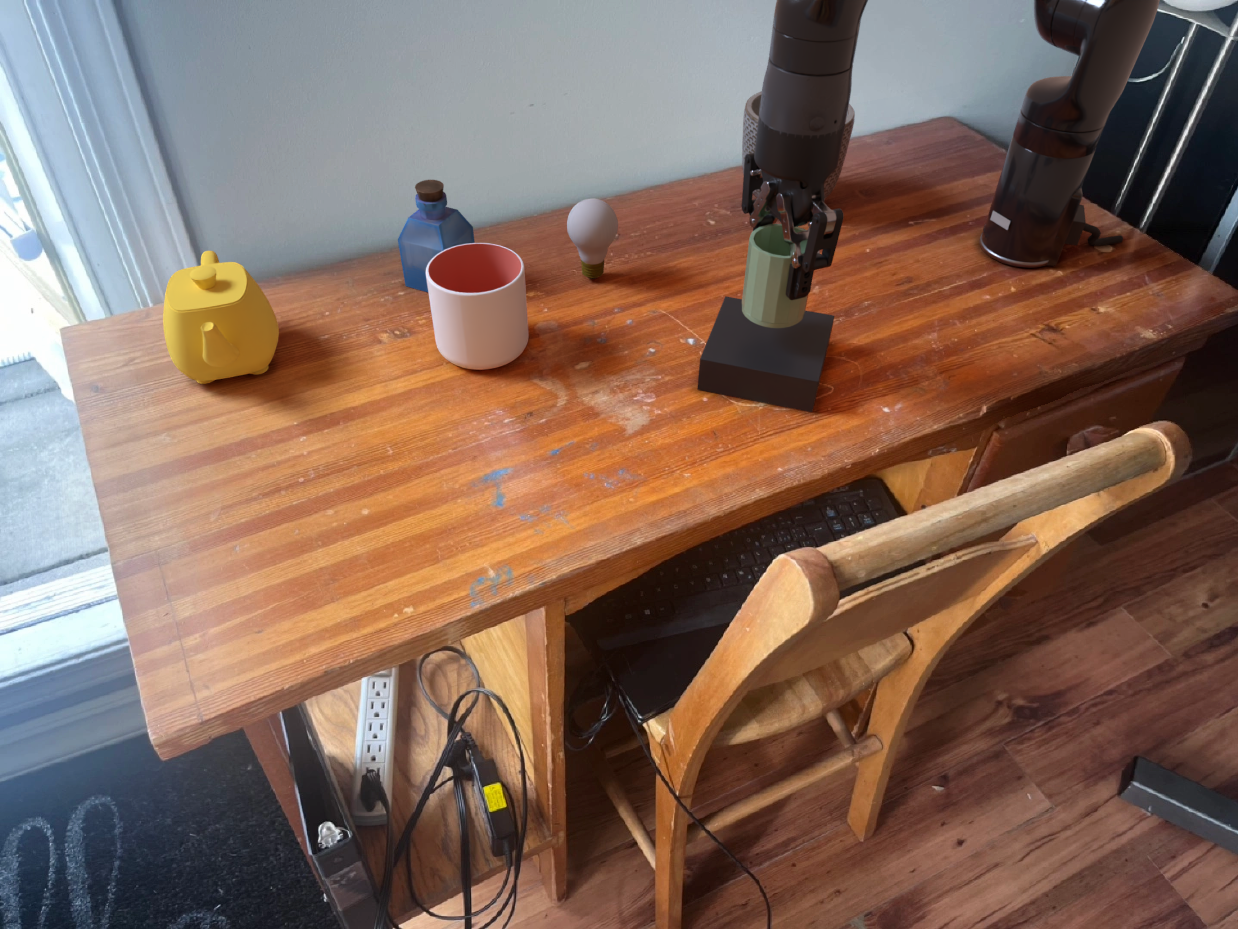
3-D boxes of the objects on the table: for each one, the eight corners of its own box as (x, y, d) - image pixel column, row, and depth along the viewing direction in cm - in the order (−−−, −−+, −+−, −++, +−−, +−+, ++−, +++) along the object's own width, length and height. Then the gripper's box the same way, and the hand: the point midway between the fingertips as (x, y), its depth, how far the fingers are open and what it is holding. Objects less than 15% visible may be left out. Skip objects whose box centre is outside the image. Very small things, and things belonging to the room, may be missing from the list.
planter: (728, 220, 124) (738, 124, 115) (741, 173, 134) (751, 81, 125) (834, 234, 122) (853, 137, 113) (840, 184, 131) (857, 91, 123)
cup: (514, 381, 99) (508, 300, 92) (423, 368, 100) (410, 287, 93) (539, 327, 106) (535, 248, 99) (454, 315, 107) (444, 237, 100)
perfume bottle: (477, 273, 114) (468, 180, 105) (450, 298, 110) (437, 204, 101) (434, 261, 116) (421, 168, 107) (405, 286, 111) (389, 192, 103)
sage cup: (809, 298, 98) (821, 229, 92) (799, 333, 93) (811, 262, 88) (748, 288, 99) (756, 219, 93) (735, 321, 94) (743, 251, 89)
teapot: (291, 403, 95) (265, 315, 88) (176, 425, 93) (139, 336, 85) (279, 307, 108) (256, 223, 100) (177, 324, 105) (145, 238, 98)
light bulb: (627, 277, 113) (629, 201, 107) (593, 297, 110) (592, 219, 103) (592, 259, 116) (591, 183, 109) (558, 277, 113) (555, 201, 106)
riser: (828, 345, 104) (834, 315, 101) (812, 412, 96) (818, 381, 93) (722, 326, 106) (725, 295, 104) (697, 389, 98) (699, 358, 95)
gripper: (886, 140, 78) (850, 308, 90) (797, 77, 88) (774, 236, 99) (809, 154, 76) (781, 325, 88) (726, 88, 86) (711, 250, 97)
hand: (777, 277), depth 93 cm, fingers closed on sage cup, 6 cm apart
